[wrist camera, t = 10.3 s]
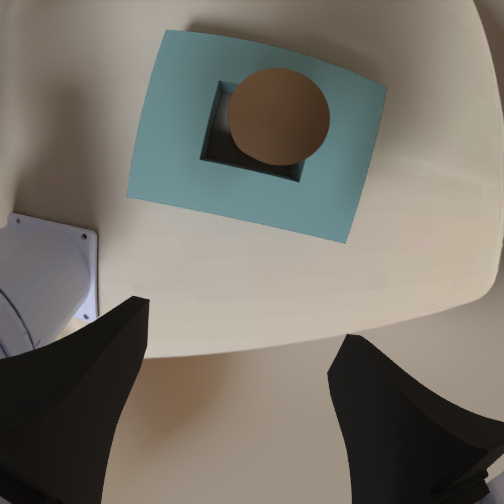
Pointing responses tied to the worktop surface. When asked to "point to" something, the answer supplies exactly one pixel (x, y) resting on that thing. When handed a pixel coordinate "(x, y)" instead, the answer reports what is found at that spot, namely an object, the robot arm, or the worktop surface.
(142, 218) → the worktop surface
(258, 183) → the hole block
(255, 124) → the walnut peg
